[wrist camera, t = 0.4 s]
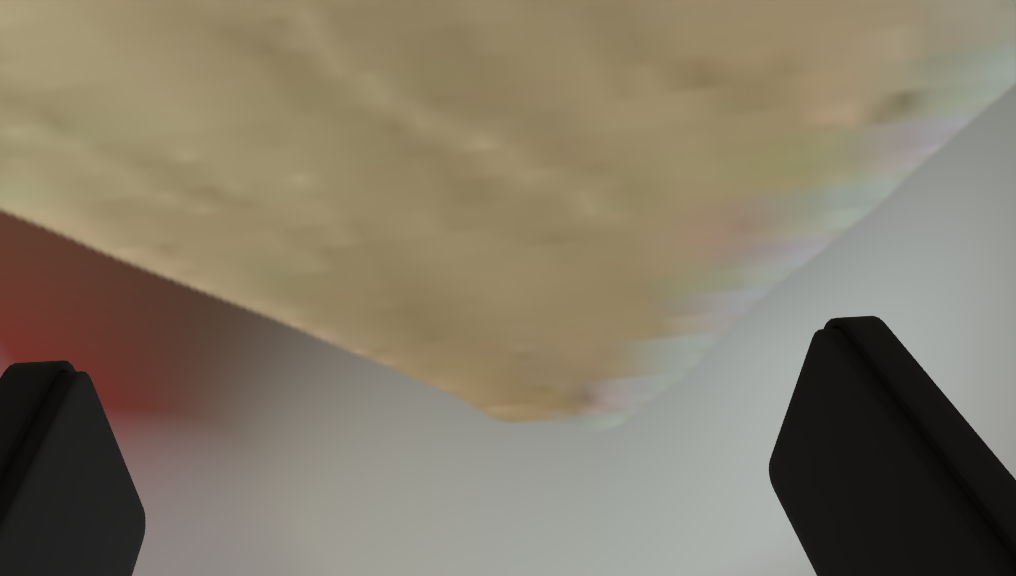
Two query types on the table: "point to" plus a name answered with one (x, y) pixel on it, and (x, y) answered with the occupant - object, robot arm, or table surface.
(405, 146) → the table surface
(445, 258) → the table surface
